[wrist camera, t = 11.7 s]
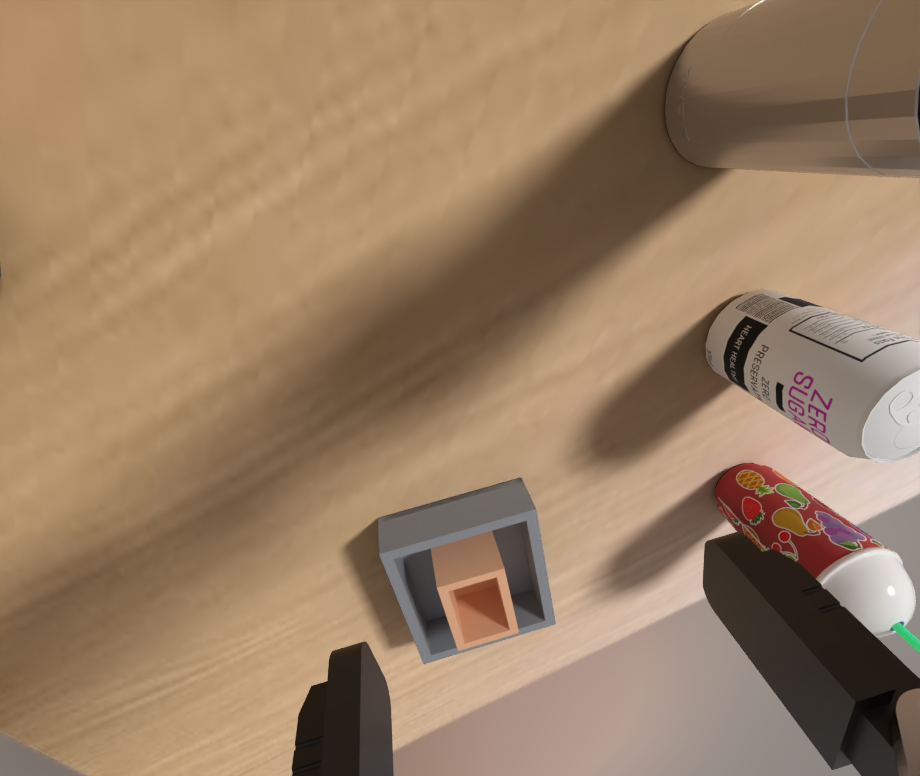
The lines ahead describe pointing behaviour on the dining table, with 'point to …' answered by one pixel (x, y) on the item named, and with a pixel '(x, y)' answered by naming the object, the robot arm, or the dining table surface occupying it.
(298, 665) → the dining table surface
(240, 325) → the dining table surface
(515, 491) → the grey crate
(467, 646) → the terracotta crate
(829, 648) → the robot arm
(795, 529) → the smoothie
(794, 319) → the supplement can
